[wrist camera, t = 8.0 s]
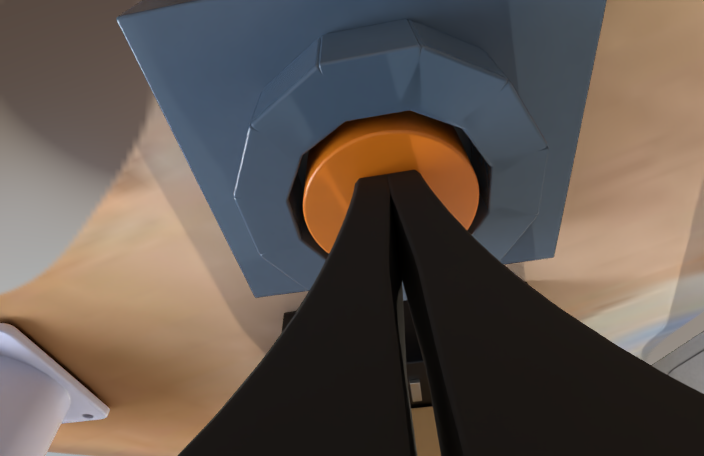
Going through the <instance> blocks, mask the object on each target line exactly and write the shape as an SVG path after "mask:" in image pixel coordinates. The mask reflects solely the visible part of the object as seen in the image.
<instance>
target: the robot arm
mask: <svg viewBox="0 0 704 456" xmlns="http://www.w3.org/2000/svg"><path fill="white" fill-rule="evenodd" d="M402 282H403V286H404V289H405V293H406V297H407V301H408V305H409V309H410V312H411V316H412V320H413V324H414V327H415V331H416V335H417V339H418V343H419V346H420V350H421V354H422V358H423V362H424V365H425V369H426V374H427V378H428V383H429V388H430V393H431V399H432V405H433V411H434V417H435V423H436V429H437V435H438V441H439V446H440V452H441V456H704V394H703V393H701V392H699V391H697V390H695V389H693V388H691V387H689V386H688V385H686V384H684V383H682V382H680V381H678V380H676V379H674V378H672V377H670V376H669V375H667V374H665V373H663V372H661V371H660V370H658V369H656V368H655V367H653V366H651V365H649V364H648V363H646V362H644V361H643V360H641V359H639V358H637V357H636V356H634V355H632V354H631V353H629V352H627V351H625V350H624V349H622V348H620V347H619V346H617V345H615V344H614V343H612V342H611V341H609V340H608V339H606V338H605V337H603V336H602V335H600V334H599V333H597V332H596V331H594V330H592V329H591V328H589V327H588V326H586V325H585V324H583V323H582V322H580V321H579V320H577V319H576V318H574V317H573V316H571V315H569V314H568V313H566V312H565V311H563V310H562V309H560V308H559V307H558V306H556V305H555V304H553V303H552V302H551V301H549V300H548V299H547V298H545V297H544V296H543V295H541V294H540V293H539V292H537V291H536V290H534V289H533V288H532V287H531V286H529V285H528V284H527V283H525V282H524V281H523V280H522V279H520V278H519V277H518V276H517V275H515V274H514V273H513V272H512V271H511V270H509V269H508V268H507V267H506V266H505V265H503V264H502V263H501V262H500V261H499V260H498V259H497V258H495V257H494V256H493V255H492V254H491V253H490V252H489V251H488V250H487V249H486V248H485V247H484V246H482V245H481V244H480V243H479V242H478V241H477V240H476V239H475V238H474V237H473V236H472V235H471V234H470V233H469V232H468V231H467V230H466V229H465V228H464V227H463V226H462V225H461V223H460V222H459V221H458V220H457V219H456V218H455V217H454V216H453V215H452V214H451V213H450V212H449V210H448V209H447V208H446V207H445V206H444V205H443V204H442V202H441V201H440V200H439V199H438V197H437V196H436V195H435V194H434V192H433V191H432V190H431V188H430V187H429V186H428V184H427V183H426V181H425V180H424V178H423V177H422V175H421V174H420V173H419V172H418V171H416V170H409V171H402V172H396V173H390V174H384V175H377V176H371V177H365V178H359V179H358V180H357V182H356V183H355V186H354V191H353V195H352V198H351V202H350V205H349V208H348V210H347V213H346V216H345V219H344V221H343V224H342V226H341V228H340V231H339V233H338V235H337V238H336V240H335V243H334V245H333V247H332V249H331V251H330V253H329V255H328V257H327V259H326V261H325V263H324V265H323V267H322V269H321V271H320V273H319V275H318V276H317V278H316V280H315V282H314V284H313V285H312V287H311V289H310V290H309V292H308V294H307V296H306V297H305V299H304V300H303V302H302V304H301V305H300V307H299V308H298V310H297V311H296V313H295V315H294V316H293V318H292V319H291V320H290V322H289V323H288V325H287V326H286V328H285V329H284V330H283V332H282V333H281V335H280V336H279V338H278V339H277V340H276V342H275V343H274V345H273V346H272V347H271V349H270V350H269V351H268V353H267V354H266V355H265V357H264V358H263V359H262V361H261V362H260V363H259V364H258V366H257V367H256V368H255V369H254V370H253V372H252V373H251V374H250V375H249V376H248V378H247V379H246V380H245V381H244V382H243V384H242V385H241V386H240V387H239V388H238V390H237V391H236V392H235V393H234V394H233V396H232V397H231V398H230V399H229V400H228V402H227V403H226V404H225V405H224V406H223V408H222V409H221V410H220V411H219V412H218V413H217V414H216V415H215V417H214V418H213V419H212V420H211V421H210V422H209V423H208V424H207V425H206V426H205V427H204V429H203V430H202V431H201V432H200V433H199V434H198V435H197V436H196V437H195V438H194V439H193V440H192V441H191V442H190V443H189V444H188V445H187V446H186V447H185V448H184V449H183V450H182V452H181V453H180V454H179V455H178V456H418V455H417V448H416V441H415V434H414V426H413V419H412V412H411V405H410V398H409V390H408V380H407V368H406V348H405V327H404V307H403V287H402ZM109 411H110V409H109V407H108V406H107V405H105V404H104V403H103V402H102V401H101V400H100V399H98V398H97V397H96V396H95V395H94V394H93V393H91V392H90V391H89V390H88V389H87V388H86V387H84V386H83V385H82V384H81V383H80V382H79V381H77V380H76V379H75V378H74V377H73V376H72V375H70V374H69V373H68V372H67V371H66V370H65V369H63V368H62V367H61V366H60V365H59V364H58V363H56V362H55V361H54V360H53V359H52V358H51V357H49V356H48V355H47V354H46V353H45V352H44V351H43V350H41V349H40V348H39V347H38V346H37V345H36V344H34V343H33V342H32V341H31V340H30V339H29V338H27V337H26V336H25V335H24V334H23V333H22V332H20V331H19V330H18V329H17V328H15V327H14V326H12V325H10V324H6V323H0V456H45V455H46V453H47V451H48V449H49V447H50V445H51V443H52V441H53V439H54V437H55V435H56V433H57V431H58V429H59V427H60V425H61V424H63V423H72V422H81V421H90V420H99V419H104V418H106V417H107V416H108V414H109Z"/></svg>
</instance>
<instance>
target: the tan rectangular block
mask: <svg viewBox="0 0 704 456" xmlns="http://www.w3.org/2000/svg"><path fill="white" fill-rule="evenodd" d="M411 412H412V419H413V426H414V434H415V441H416V448H417V455H418V456H441V452H440V446H439V441H438V435H437V429H436V423H435V417H434V411H433V406H431V407H421V408H411Z"/></svg>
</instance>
